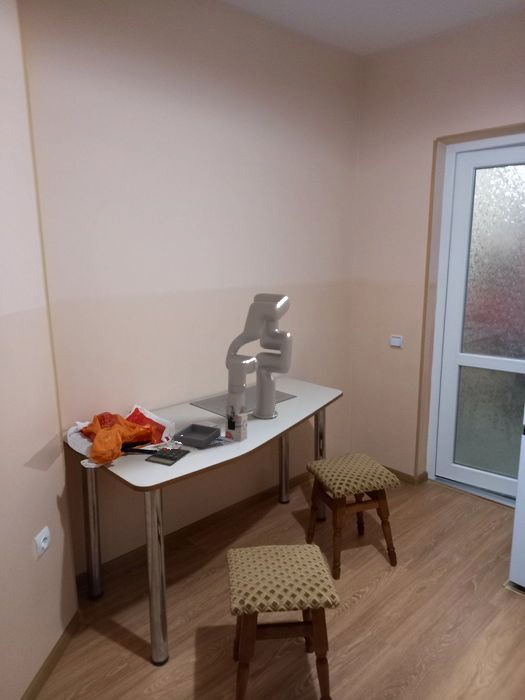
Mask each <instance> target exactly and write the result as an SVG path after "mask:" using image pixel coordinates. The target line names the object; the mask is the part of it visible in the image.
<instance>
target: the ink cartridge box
mask: <svg viewBox="0 0 525 700" xmlns="http://www.w3.org/2000/svg"><path fill="white" fill-rule="evenodd" d="M231 414H234V413H231ZM248 415H249V414H248V406H243V412H241V413H240V414H239V415H237V416H236V417H235V420H234V421H235V430H229V429H228V421H227V414H226V413H225V430H224V431H225V434H224V435H225V438H226V437H229V438H228V439H230V438H232V439H231V440H234V439H235V440H234V441H238V442H243V441H245V440H246V439H248ZM232 418H233V416H232Z"/></svg>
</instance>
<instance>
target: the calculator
mask: <svg viewBox="0 0 525 700" xmlns="http://www.w3.org/2000/svg"><path fill="white" fill-rule="evenodd" d="M189 453H191V450H188V449H183V448H178V449H171V450H170V449H167V448H163V447H162V448H159V450H158V451H155V452H154V453H152V454H151V455H149V456H148V457H147V458H145V459H144V461H145V462H148V463H153V464H158V465H159V464H160V465H164V466H168V467H172V466H173V465H175V464H176V463H177V462H178V461H180V460H181V459H182V458H183V459H184V457H186V456H187V455H188V454H189Z"/></svg>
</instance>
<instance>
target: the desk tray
mask: <svg viewBox="0 0 525 700" xmlns="http://www.w3.org/2000/svg"><path fill="white" fill-rule="evenodd" d="M221 431H222V429H221V427H216V426H215V427H214V426H209V425H204V424H198V423H190V424H189V425H188V426H186V427H184V428H182V429H181V430H179V431H178V432H176V433H174V434H173V435H172V436H173V438H172V439H173V440H172V442H173V441H178V442H181V443H182V444H183V445H182V446H185V447H191V448H195V449H200V450H204V449H205V448H207V447H208V446H210V445H211V444H212V443H213V442H215V441H216V440H217V439H219V438H220V437H221V435H222V433H221ZM181 435H183V436H181ZM219 436H220V437H219ZM218 437H219V438H218ZM216 438H217V439H216ZM215 439H216V440H215ZM214 440H215V441H214ZM212 441H213V442H212ZM211 442H212V443H211ZM210 443H211V444H210ZM207 445H208V446H207Z"/></svg>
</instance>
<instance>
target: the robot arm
mask: <svg viewBox="0 0 525 700" xmlns="http://www.w3.org/2000/svg"><path fill="white" fill-rule="evenodd" d="M290 305H291V301H290V297H289V296H288V295H285V294H278V293H266V292H264V293H263V292H262V293H257V294H255V295H254V296H253V302H252V303H251V304H250V306H249V307H248V312H247V316H246V319H245V323H244V326H243V330H242V331H241V333H240V334H239V335H238V336H236V337H235V338H234V339H233V340H232V342H231V343H230V345H229V347H228V349H227V353H226V356H225V357H226V358H225V368H226V369H227V370H228V371H227V372H228V373H227V375H228V376H227V377H228V379H227V380H228V381H227V392H228V393H227V399H226V407H225V409H226V410H225V415H226V414H227V421H228V429H229V430H235V421H234V420H235V417H236V416H237V415H239V414H240V413H241V412H243V406H246V405H247V402H246V389H247V387H246V386H247V375H249V374H254V373H255V374H256V375H255V376H256V378H255V380H256V381H255V382H256V383H255V384H256V386H255V389H256V390H255V409H254V410H252V413H251V414H252V416H253V417H255V418H258V419H262V420H270V419H274V418H277V417H278V415H279V412H278V411H277V410H276V405H277V404H276V384H277V383H276V382H277V381H276V377H275V376H274V374H279V375H280V374H282V375H285V374H288V373H289V372H290V370H291V365H292V357H293V356H292V354H293V353H292V352H293V336H292V334H291V333H290V332H289V331H286V330H284V331H283V330H279V321H280V320H281V319H282V318H283V317H284V316H285V315H286V313H288V311H289V309H290ZM258 340H259V346H260V347H261V349H264V350H272V351H279V352H280V353H277V352H270V351H269V352H268V351H262V352H261V351H260V352H258V353H257V354H256V355H255V356H252V355H244V354H238V351H239V350H240V349H241V348H242V347H243V346H245V345H247V344H249V343H253V342H255V341H258ZM231 413H234V414H231ZM232 416H233V418H232Z"/></svg>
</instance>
